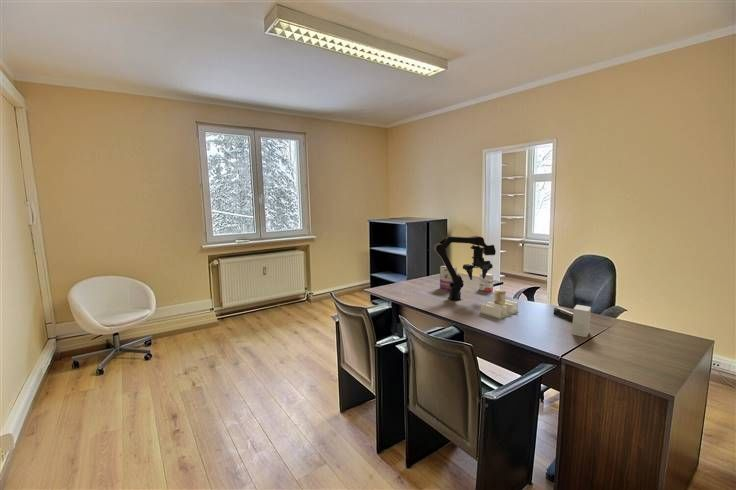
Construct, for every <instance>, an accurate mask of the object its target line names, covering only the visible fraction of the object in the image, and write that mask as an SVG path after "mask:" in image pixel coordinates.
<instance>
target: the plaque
mask: <svg viewBox="0 0 736 490" xmlns="http://www.w3.org/2000/svg"><path fill="white" fill-rule="evenodd" d="M506 293H507V292H506V290H503V289H495V290H494V297H493V298H494V299H493V300H494V303H495V304H499V305H503V306H505V299H506Z"/></svg>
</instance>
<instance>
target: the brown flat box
mask: <svg viewBox="0 0 736 490" xmlns="http://www.w3.org/2000/svg"><path fill="white" fill-rule="evenodd" d="M553 315H556V316H558V317H561V318H563V319H566V320H568V321H570V322H573V312H572V311H569V310H567V309H564V308H561V307H554V308H553Z"/></svg>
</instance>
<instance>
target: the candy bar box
mask: <svg viewBox="0 0 736 490" xmlns="http://www.w3.org/2000/svg"><path fill="white" fill-rule="evenodd" d="M439 267H440V268H439V289H441V290H446V291H449V290H450V288H449V285H450V284H451V283H452V280H451V276H450V274H449V272H448V270H447V268H446V266H445V265H441V266H439ZM452 267H453V268H454V270H455V272H456V274H457V270H458V269H457V267H455V266H452Z"/></svg>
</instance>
